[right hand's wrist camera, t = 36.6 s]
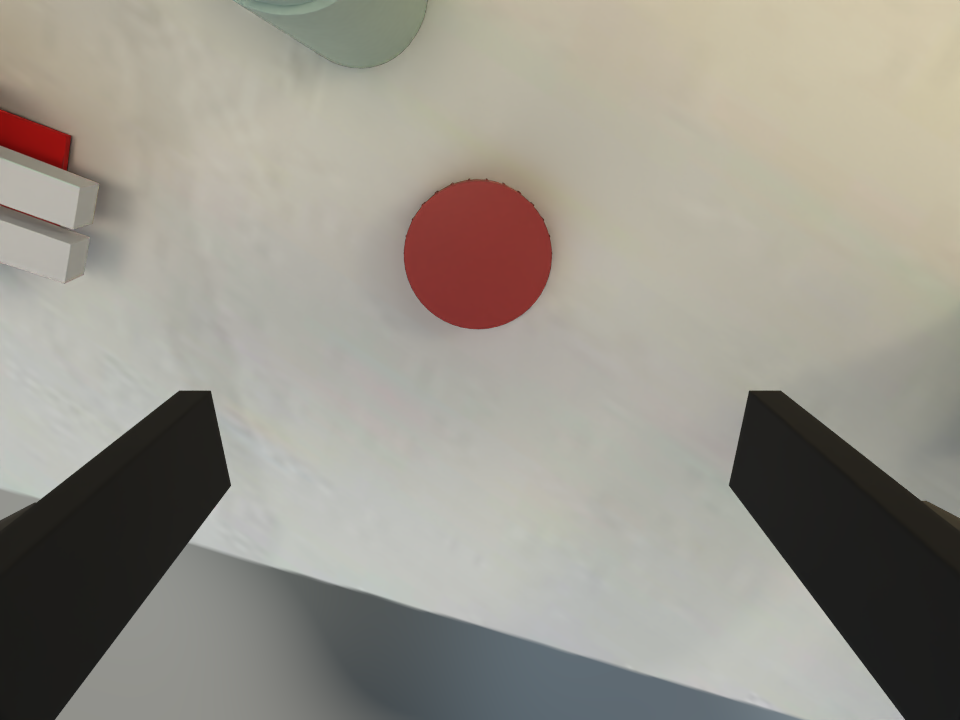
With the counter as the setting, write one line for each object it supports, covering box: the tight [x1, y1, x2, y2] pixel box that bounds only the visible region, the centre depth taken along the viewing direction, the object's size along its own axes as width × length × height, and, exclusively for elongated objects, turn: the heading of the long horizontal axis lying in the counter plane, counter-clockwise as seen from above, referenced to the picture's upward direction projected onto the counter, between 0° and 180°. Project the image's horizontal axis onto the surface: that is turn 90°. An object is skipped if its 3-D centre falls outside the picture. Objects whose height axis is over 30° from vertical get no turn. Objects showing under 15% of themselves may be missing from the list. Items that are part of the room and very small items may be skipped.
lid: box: [404, 179, 552, 329], centre depth 36 cm, size 10×10×2 cm
